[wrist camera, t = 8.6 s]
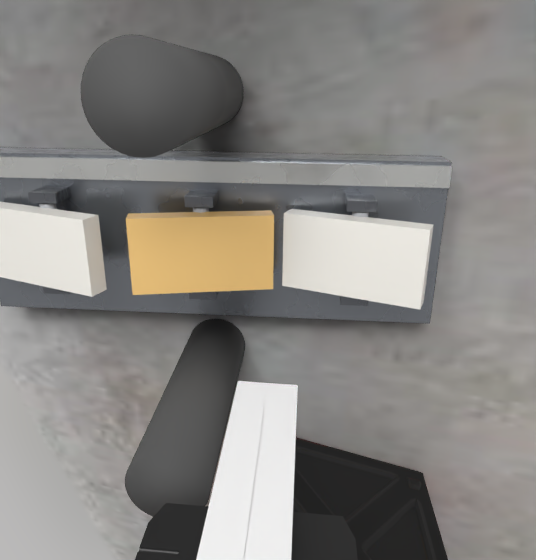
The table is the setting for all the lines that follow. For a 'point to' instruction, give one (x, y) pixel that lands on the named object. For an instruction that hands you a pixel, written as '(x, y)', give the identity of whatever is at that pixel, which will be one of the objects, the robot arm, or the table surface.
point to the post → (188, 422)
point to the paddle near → (356, 256)
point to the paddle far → (51, 248)
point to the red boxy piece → (368, 502)
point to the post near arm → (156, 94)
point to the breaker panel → (224, 197)
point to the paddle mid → (200, 251)
